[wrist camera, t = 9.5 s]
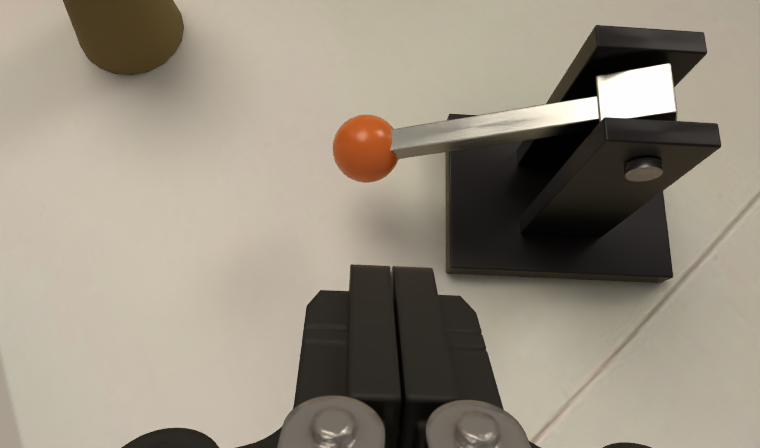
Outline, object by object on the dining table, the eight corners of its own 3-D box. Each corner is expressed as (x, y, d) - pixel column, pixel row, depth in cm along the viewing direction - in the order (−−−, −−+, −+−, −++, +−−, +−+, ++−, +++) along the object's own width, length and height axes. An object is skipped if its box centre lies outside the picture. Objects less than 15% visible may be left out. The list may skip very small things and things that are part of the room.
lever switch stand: (445, 273, 35) (505, 185, 23) (445, 123, 38) (497, -25, 26) (662, 283, 36) (831, 202, 24) (645, 135, 39) (788, -5, 26)
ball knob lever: (348, 195, 32) (318, 171, 30) (351, 137, 33) (322, 109, 31) (678, 153, 27) (679, 119, 24) (669, 85, 28) (669, 44, 25)
